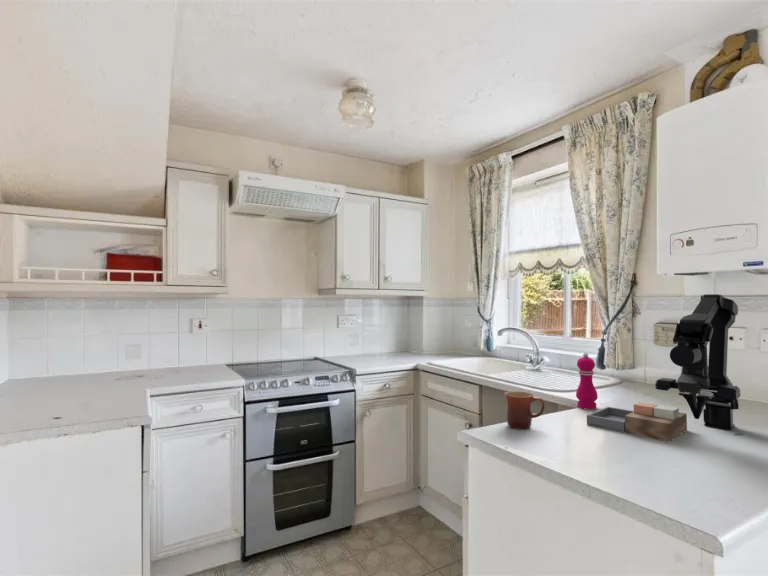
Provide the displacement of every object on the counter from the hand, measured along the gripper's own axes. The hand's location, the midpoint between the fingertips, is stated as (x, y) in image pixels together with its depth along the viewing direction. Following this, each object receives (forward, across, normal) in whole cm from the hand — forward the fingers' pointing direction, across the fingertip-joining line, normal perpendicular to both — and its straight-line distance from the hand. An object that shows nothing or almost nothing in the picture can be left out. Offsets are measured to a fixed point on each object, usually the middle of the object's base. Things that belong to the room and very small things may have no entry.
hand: (696, 418), depth 120 cm
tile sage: (+1, -8, 0) cm, 8 cm away
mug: (+6, -39, -25) cm, 47 cm away
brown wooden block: (+6, -10, 0) cm, 12 cm away
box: (+6, -22, 0) cm, 23 cm away
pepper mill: (+6, -37, +14) cm, 40 cm away
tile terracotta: (+1, -13, 0) cm, 13 cm away
